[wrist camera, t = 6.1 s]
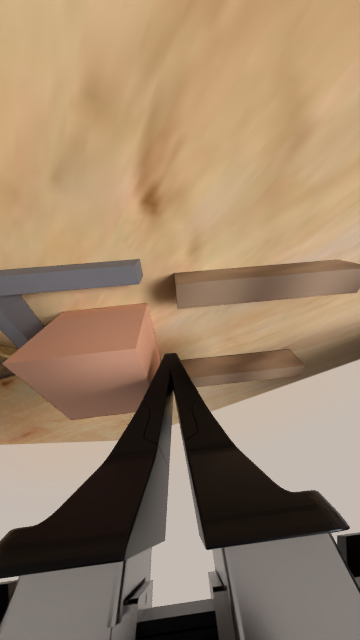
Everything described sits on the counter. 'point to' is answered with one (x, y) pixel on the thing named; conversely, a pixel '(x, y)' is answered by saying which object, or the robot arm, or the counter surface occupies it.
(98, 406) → the terracotta block
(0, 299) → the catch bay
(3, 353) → the shard
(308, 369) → the counter surface
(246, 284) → the wooden blocks
